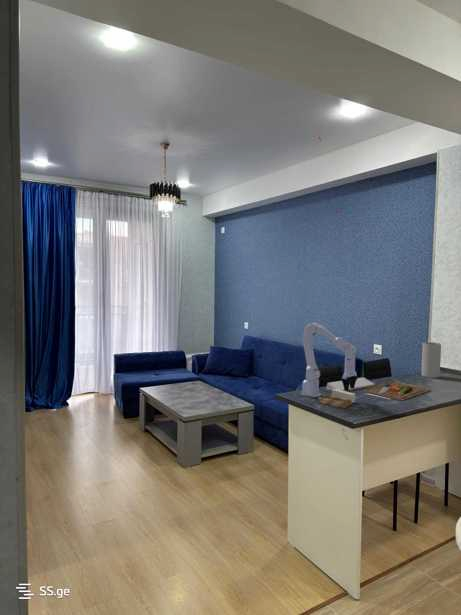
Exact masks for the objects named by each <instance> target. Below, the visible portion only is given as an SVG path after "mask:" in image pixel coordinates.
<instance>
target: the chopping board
mask: <svg viewBox="0 0 461 615" xmlns="http://www.w3.org/2000/svg"><path fill="white" fill-rule="evenodd" d="M429 392H431V389H430V388H427V387H425V386H419V385H415V384H408V383H404V382H398V381H390V382H386V383H383V384H380V385H376V386H375V385H374V386H373V387H367V388H363V390H362V393H365V395H369V396H372V397H377V398H382V399H385V400H390V401H391V400H396V401H406V400H408V399H411V398H415V397H417V396H420V395H423V394H427V393H429Z"/></svg>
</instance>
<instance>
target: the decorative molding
mask: <svg viewBox="0 0 461 615" xmlns="http://www.w3.org/2000/svg"><path fill="white" fill-rule="evenodd" d="M326 383H327V384H326V387H325V390H326V391H332V390H333V389H339V390H343V391H345V390H344V386H343V383H342V381H341V380H338V381H331V382H326ZM375 385H376V384H375V383H374V382H372V381H370V380H369V379H367V378H365V377H358V378H357V380H356V383H355V386H354V389H353V388H350V384H349V390H348V391H347V392H349V391H350V392H351V391H355V389H356V390H360V389H368V388H371V387H375Z"/></svg>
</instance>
